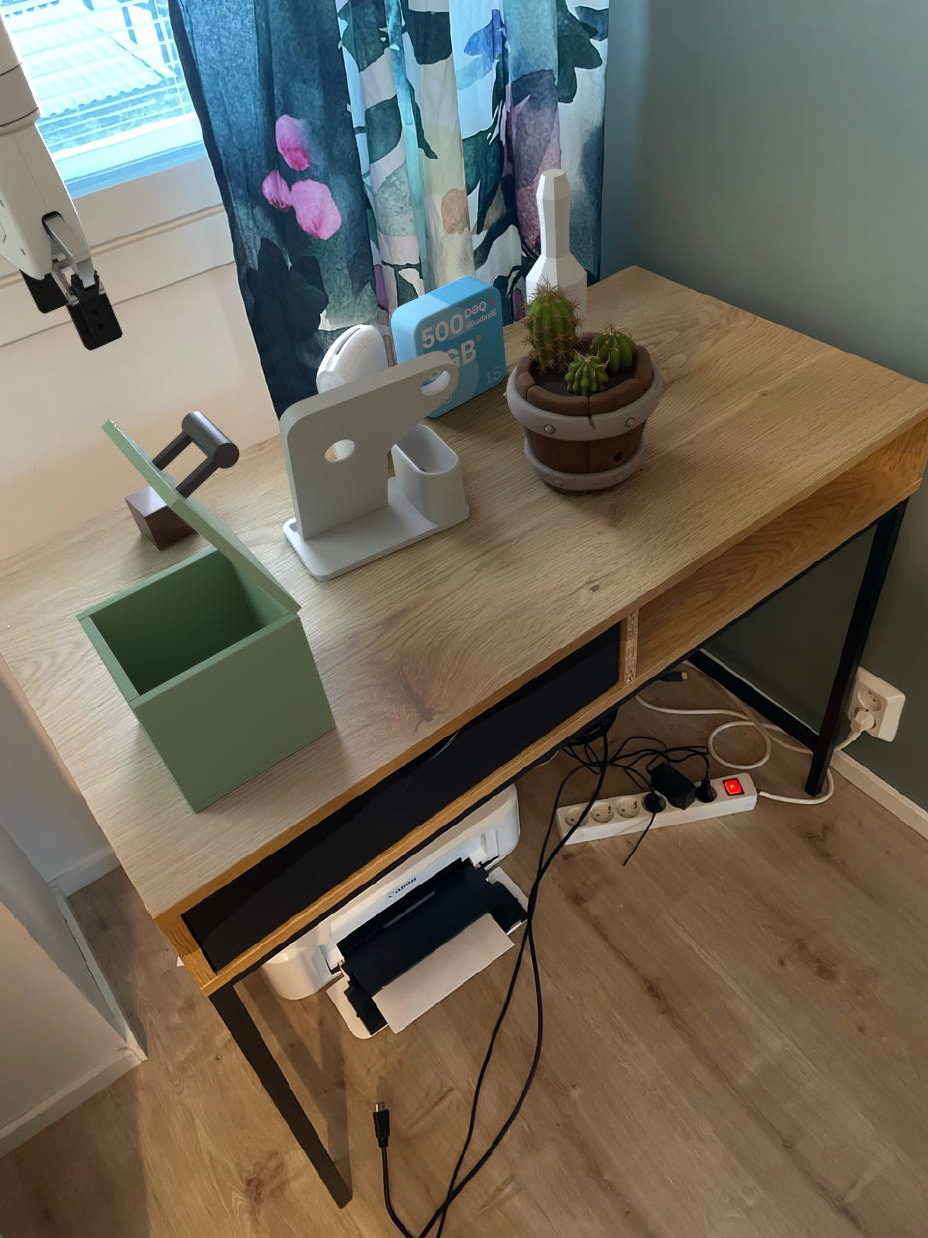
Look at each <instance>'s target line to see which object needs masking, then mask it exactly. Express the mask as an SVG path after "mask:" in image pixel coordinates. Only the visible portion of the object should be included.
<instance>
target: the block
mask: <svg viewBox="0 0 928 1238" xmlns="http://www.w3.org/2000/svg"><path fill="white" fill-rule="evenodd" d="M124 501H125V503H126V505H127V507H128V509H129V511H130V513H131V515H132V517H133V520H134V522H135V524H136V526H137V528H138V530H139V532H140V533H141V534H142V536H144V537H145V538H146V539H147V541H149V542H150V543H151V544H152V545H153V547H155V548H156V549H157V550H158V551H159V552H162V551H164V550H166V549H168V548H170V547H171V546H174V545H175V544H176V543H179V542H180V541H182V540H183V539H186V538H188V537H189V536H191V535H193V534H195V533H197V531H196V530H194V529H193V528H192V527H191V526H190V525H189V524H188V523H186V522H185V521H184V520H183V519H182V518H181V517H179V516H178V515H177V514H176V513H175V512H174V511H172V510H171V509H170V508H169V507H168V506H167V504H166V503H165V502H164V501H163V500H162V499H161V497H160V496H159V495H158V494H157V493H156V492H155V490H154V489H153V488H152V487H151V486H150V484H148V485H147V486H145V487H143V488H142V489H140V490H137V491H136V492H134V493H131V494H130V495H128V496H126V497H124Z"/></svg>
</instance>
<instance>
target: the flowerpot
mask: <svg viewBox="0 0 928 1238" xmlns="http://www.w3.org/2000/svg"><path fill="white" fill-rule="evenodd" d="M542 276H543V275H542ZM543 278H544V277H543ZM544 280H545V282H546V279H545V278H544ZM533 283H534V282H533ZM548 283H549V281H548V276H547V282H546V285H547V287H546V286H545V285H539V284H538V282H537V283H535V284H537V285H539V286H540V287H541V288H542V289H543V290H539V287H538V288H537V289H538V290H536V289H534V290H536V291H538V293H531V294H533V295H534V294H535V295H537V297H536V296H535V295H534V296H535V298H534V297H532V298H534V300H531V301H532V302H531V301H530V300H529V304H528V303H527V297H526V300H524V303H523V302H521V301H519V303H520V304H521V305H523V306H522V307H521V309H523V308H526V309H524V310H523V311H522V313H524V312H526V313H525V314H524V318H525V319H524V318H523V317H522V316H521V315H519V317H520V321H519V320H516V322H517V326H518V325H521V326H519V328H521V327H522V328H521V331H523V330H524V329H525V328H526V330H527V332H528V333H523V332H521V334H522V336H523V337H524V338H523V337H522V340H521V341H520V343H524V344H523V348H526V346H527V345H528V346H529V347H531V346H532V347H531V348H530V350H529V351H528V352H527V355H523V356H521V357H520V359H519V360H518V362H517V365H516V366H515V367H514V369H513V370H512V371H511V373H510V375H509V377H508V380H507V383H506V391H505V392H504V393H503V397H504V398H505V399H506V400H507V405H508V407H509V411H510V412H511V414H512V416H513V417H514V418H515V419H516V420H517V421H518V422H519V423H520V424H521V426H522V430H523V432H524V436H525V441H524V451H523V456H524V457H525V458H526V460H527V462H528V465H529V467H530V468H531V470H532V471H533V473H534V474H535V475H536V476H537V477H538V478H539V479H540V480H541V481H542V482H543V483H544V485H545V486H546V487H548V488H550V489H553V490H554V491H556V492H558V493H561V494H563V493H565V492H569V494H571V495H573V496H582V495H586V494H587V493H588V492H589V493H591V494H593V495H595V494H596V495H597V494H602V493H603V494H604V493H606V492H609V491H612V490H613V489H616V488H617V487H619V486H621V485H622V484H623V483H625V482H626V481H627V480H628V478H629V477H630V476H631V475H632V474H633V473H634V472H635V471H636V469H637V468H638V466H639V465H640V462H641V460H642V457H643V455H644V451H645V448H646V446H647V444H646V439H645V434H644V430H645V428H646V425H647V423H648V419H649V418H650V417H651V416H652V415H653V413H655V411H656V409H657V408H658V406H659V404H660V400H661V398H662V394H663V388H664V385H665V383H666V379H665V378H664V377H663V376H662V373H661V370H660V368H659V366H658V365H657V364H656V363H655V361H653V359H652V358H651V357H652V356H651V354H650V352H649V350H648V349H647V348H646V346H645V345H641V344H637V343H636V340H635V339H634V338H633V335H632V334H633V332H632V331H631V330H630V329H627V328H626V331H627V333H628V335H629V336H628V335H627V334H625V333H622V332H625V328H623V327H621V326H622V325H619V326H618V327H617V329H615V325H617V322H612V323H608V322H607V321H605V323H606V325H607V327H606V326H604V327H602V328H601V329H603V330H604V331H602V330H601V329H598V331H584V333H581V334H580V335H579V337H578V335H577V334H578V332H577V334H575V328H576V325H577V324H580V323H581V319H582V318H583V317H584V316H583V317H582V318H581V319H580V318H579V319H578V314H577V316H576V317H577V319H576V317H575V315H574V310H575V309H576V308H577V306H578V305H580V304H579V303H578V304H577V305H575V303H576V302H579V301H576V300H574V301H575V302H574V301H573V302H574V304H573V302H572V299H571V302H570V301H569V299H568V300H567V299H566V298H565V297H563V296H565V295H568V294H565V293H567V292H566V291H565V290H566V289H565V290H564V291H563V293H562V289H561V290H559V287H560V284H558V285H556V286H554V287H552V286H551V287H552V288H551V287H550V284H549V289H548ZM542 284H543V283H542ZM544 286H545V287H544ZM557 286H558V288H557V289H558V290H557V291H556V292H553V291H554V289H555V288H556V287H557ZM544 288H545V289H544ZM546 288H547V290H546ZM550 288H551V289H550ZM560 288H561V287H560ZM567 289H568V288H567ZM552 290H553V291H552ZM555 290H556V289H555ZM540 291H542V292H540ZM543 291H544V292H543ZM559 292H561V293H559ZM568 292H569V291H568ZM571 295H572V294H571ZM569 296H570V295H569ZM529 297H531V296H529ZM566 297H567V296H566ZM574 299H576V298H574ZM530 302H531V303H530ZM581 304H583V303H581ZM579 307H580V306H579ZM578 309H579V308H578ZM580 310H581V309H580ZM581 311H582V310H581ZM581 315H582V313H581ZM580 317H581V316H580ZM587 319H588V318H587V317H586V319H585V321H586V320H587ZM579 320H580V321H579ZM583 321H584V320H582V322H583ZM579 322H580V323H579ZM578 326H579V325H578ZM580 326H581V328H582V324H580ZM580 326H579V327H580ZM609 328H610V331H609V330H608V329H609ZM577 329H578V327H577ZM620 330H621V331H620ZM581 331H582V330H581ZM599 331H600V332H599ZM524 334H525V335H524ZM576 335H577V336H576ZM634 341H635V342H634Z"/></svg>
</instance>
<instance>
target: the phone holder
mask: <svg viewBox="0 0 928 1238" xmlns="http://www.w3.org/2000/svg"><path fill="white" fill-rule="evenodd" d="M438 371H443V373H442V374H441V375H440V376H439V377H438V378H437V379H436V380H435V381H434V382H432V383H430V384H428V385H426V386H422V385H423V383H424V381H425V380H426V379H427V378H428V377H429V376H430V375H432V374H433V373H435V372H438ZM458 376H459V371H458V368H457V367H456V365H455V364H454V363H453V361H452V360H451V358H450V357H449V356H448V354H447V353H445V352H443V351H434V352H430V353H428V354H425V355H422V356H419V357H417V358H414V359H411V360H409V361H406V362H403V363H401V364H398V363H397V364H395V365H393V366H390V367H389V368H387V369H384V370H382V371H379V372H376V373H373V374H371V375H368V376H365V377H363V378H360V379H357V380H355V381H352V382H349V383H347V384H344V385H341V386H339V387H336V388H333V389H331V390H328V391H325V392H323V393H320V394H319V393H317V394H314V395H313V396H309V397H307V398H304V399H302V400H299V401H297V402H295V403H293V404H291V405H290V406H289V407H287V408H286V410H285V411H284V412H283V413H282V414H281V416H280V418H279V422H278V429H279V433H280V440H281V446H282V451H283V456H284V463H285V468H286V473H287V478H288V485H289V490H290V497H291V501H292V508H293V512H294V517H292V518H290V519H288V520H287V521H286V522H284V524H283V526H282V530H283V533H284V537H285V539H287V541H288V543H289V544H290V545H291V547H292V549H293V550H294V552H295V553H296V554H297V556H298V558H299V559H300V560H301V562H302V564H303V565H304V566H305V568H306V570H307V571H308V572H309V574H310V575H311V577H314V578H316V581H320V582H325V581H330V580H333V579H335V578H337V577H339V576H341V575H344V574H346V573H349V572H352V571H353V570H356V569H358V568H361V567H362V566H365V565H367V564H369V563H371V562H374V561H376V560H378V559H380V558H383V557H385V556H387V555H390V554H392V553H394V552H397V551H398V550H401V549H403V548H406V547H409V546H410V545H412V544H415V543H417V542H419V541H422V540H424V539H426V538H429V537H431V536H433V535H435V534H437V533H441V532H443V531H444V530H446V529H449V528H451V527H453V526H456V525H458V524H460V523H463V522H465V521H466V520H468V518H469V517H470V506H469V504H468V503H467V501H466V497H465V489H464V480H463V473H462V466H461V459H460V456H459V455H458V454H457V453H456V451H454V449H452V447H450V446H449V445H448V444H447V443H446V441H444V440H443V439H442V438H441V437H440V436H439V435H438V434H437V433H436V432H435V431H434V430H433V429H432V428H431V427H429V426H428V425H426V424H422V423H421V422H422V421H423V420H424V419H425V418H426V417H428V415H429V414H430V413H431V412H432V411H433V410H434V409H435V408H436V407H438V406H439V405H440V404H441V403H442V402H443V401H444V400H445V399H447V398H448V397H449V396H450V395H451V394H452V393H453V392H454V390H455V389H456V387H457V384H458ZM342 440H351V441H353V442H354V446H352V447H351V448H350V449H349V454H348V455H347V456H346V457H344V458H342V459H340V460H339V459H336V460H329V458H326V454H327V451H328V450H329V449H330V448H331V447H332V445H333V444H335V443H337V442H339V441H342ZM389 453H391V458H392V459H391V460H392V464H393V468H394V474H395V475H393V476H392V477H389V475H388V474H389V471H388V469H389V468H388V463H389V462H388V458H389V457H388V455H389Z"/></svg>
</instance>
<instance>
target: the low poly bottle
mask: <svg viewBox="0 0 928 1238" xmlns="http://www.w3.org/2000/svg"><path fill="white" fill-rule="evenodd" d="M566 173H567V172H566V171H564V170H563V169H561V168H549V169H545V170H544V171H543V172H542V173H541V174H540V177H539V181H538V186H537V190H536V193H535V195H536V204H537V211H538V218H539V219H538V220H539V230H540V231H539V232H540V246H541V247H540V255H539V257H538V258H537V260H536V261H535V263H534V265H533V266H532V268H531V269H530V271H529V272H528V273H527V275H526V277H525V286H526V298H527V299H526V303H528V304H529V300H530V301H531V300H534V298H535V296H536V297H537V295H535V294H534V295H535V296H534V295H533V294H531V293H538V291H536V290H538V289H537V288H538V287H539V290H543V289H542V288H541V287H540V286H539V285H545V286H546V287H547V285H546V282H547V276H548V281H549V283H548V289H549V284H550V287H551V286H552V287H554V286H556V285H558V284H560V287H561V288H560V287H559V290H561V289H562V293H563V291H564V290H565V289H566V290H565V291H566V292H567V293H565V294H568V295H565V296H563V297H565V298H566V299H567V300H568V299H569V301H570V302H571V299H572V302H573V301H574V300H576V301H579V302H576V303H575V305H577V304H578V303H579V304H580V305H578V306H577V308H576V309H575V310H574V315H575V317H576V316H577V314H578V319H579V318H580V319H581V318H582V317H583V316H584V317H583V318H582V319H581V323H580V322H579V323H580V324H582V328H581V326H580V324H577V325H576V328H575V334H577V332H578V334H577V335H578V337H579V335H580V334H581V333H584V332H585V326H586V320H587V319H586V318H587V312H588V311H587V310H588V272H587V271H586V270H585V268H584V267H583V266H582V264H580V262H579V261H578V260H577V258H576V257H575V256H574V255H573V254H572V252H571V251H570V250H571V249H570V247H571V245H570V242H571V241H570V216H571V203H572V190H571V189H572V188H571V185H570V183H569V180H568V176H567V174H566ZM542 275H543V276H542ZM543 277H544V278H545V279H546V282H545V280H544V278H543ZM533 282H534V283H533ZM537 282H538V284H539V285H537V284H535V283H537ZM542 283H543V284H542ZM545 286H544V287H545ZM552 287H551V288H552ZM551 288H550V289H551ZM557 288H558V286H557V287H556V288H555V289H556V290H555V289H554V291H553V290H552V291H553V292H556V291H557V290H558V289H557ZM567 288H568V289H567ZM534 289H536V290H534ZM544 289H545V288H544ZM546 290H547V288H546ZM568 291H569V292H568ZM540 292H542V291H540ZM543 292H544V291H543ZM559 293H561V292H559ZM571 294H572V295H571ZM569 295H570V296H569ZM529 296H531V297H529ZM566 296H567V297H566ZM532 297H534V298H532ZM574 298H576V299H574ZM531 302H532V301H531ZM531 302H530V303H531ZM574 302H575V301H574ZM574 302H573V304H574ZM581 303H583V304H581ZM579 306H580V307H579ZM578 308H579V309H578ZM580 309H581V310H582V311H581V310H580ZM581 313H582V315H581ZM580 316H581V317H580ZM576 319H577V317H576ZM585 319H586V320H585ZM582 320H584V321H583V322H582ZM579 321H580V320H579ZM578 325H579V326H580V327H579V326H578ZM577 327H578V329H577ZM581 330H582V331H581ZM577 335H576V336H577Z"/></svg>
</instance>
